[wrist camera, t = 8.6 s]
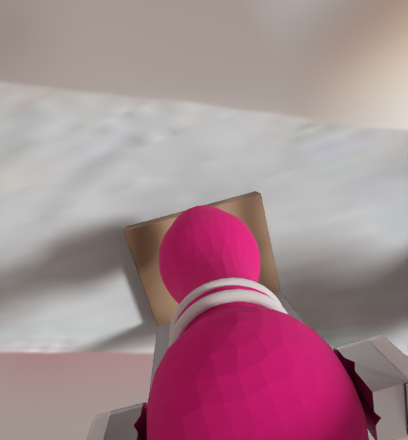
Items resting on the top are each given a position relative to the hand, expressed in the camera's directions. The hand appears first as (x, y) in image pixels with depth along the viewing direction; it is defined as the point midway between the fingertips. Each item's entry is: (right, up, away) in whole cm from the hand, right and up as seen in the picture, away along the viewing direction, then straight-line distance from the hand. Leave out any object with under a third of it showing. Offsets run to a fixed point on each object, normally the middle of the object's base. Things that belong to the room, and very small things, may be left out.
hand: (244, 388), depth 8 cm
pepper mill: (-1, +4, +15) cm, 16 cm away
